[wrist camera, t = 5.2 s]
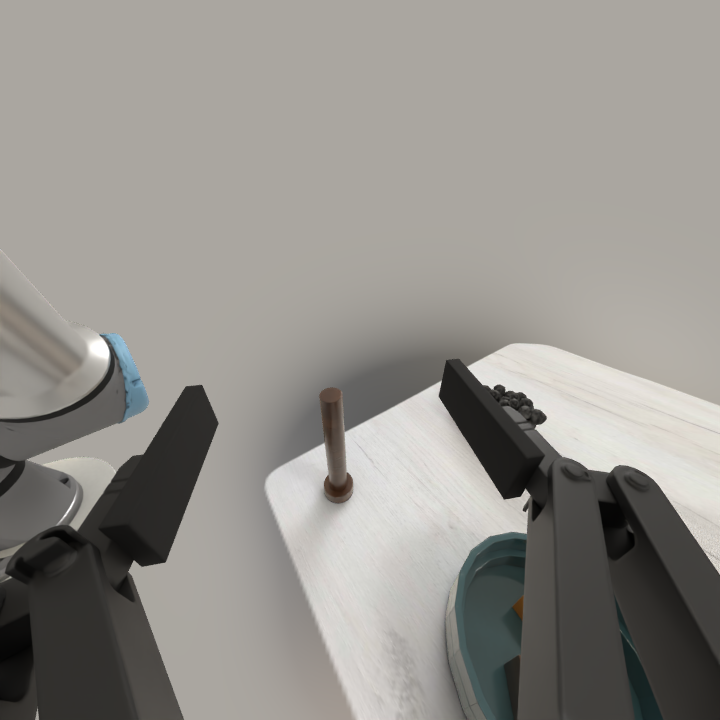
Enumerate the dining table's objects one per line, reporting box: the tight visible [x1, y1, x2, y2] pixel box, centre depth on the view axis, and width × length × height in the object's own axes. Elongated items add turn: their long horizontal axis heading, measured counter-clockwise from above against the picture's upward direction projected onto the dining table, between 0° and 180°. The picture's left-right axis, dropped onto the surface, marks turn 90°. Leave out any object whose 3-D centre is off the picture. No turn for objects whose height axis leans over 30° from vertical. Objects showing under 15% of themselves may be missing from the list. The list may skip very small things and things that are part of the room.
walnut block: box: [504, 655, 521, 720], centre depth 20 cm, size 4×4×4 cm
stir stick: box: [319, 388, 353, 503], centre depth 32 cm, size 4×4×18 cm
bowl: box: [445, 532, 663, 720], centre depth 22 cm, size 16×16×6 cm
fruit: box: [483, 385, 547, 429], centre depth 45 cm, size 9×8×15 cm
